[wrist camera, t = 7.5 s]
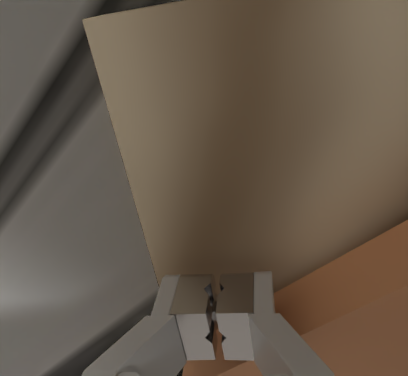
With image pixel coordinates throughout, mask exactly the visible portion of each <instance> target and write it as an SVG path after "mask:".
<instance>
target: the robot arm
mask: <svg viewBox="0 0 408 376" xmlns="http://www.w3.org/2000/svg"><path fill="white" fill-rule="evenodd" d="M219 284H220V290H221V292H220V293H219V294H218V295H217V294H216V293H215V287H216V282H215V278H214V275H213V274H181V275H165V276H164V277H163V278H162V281H161V284H160V287H159V290H158V294H157V297H156V300H155V303H154V306H153V310H152V313H151V316H145V317H144V318H143V319H142V320H141V321H139V322H138V323H137V324H136V325H135V326H134V327H133V328H131V329H130V330H129V331H128V332H127V333H126V334H125V335H123V336H122V337H121V338H120V339H119V340H118V341H117V342H116V343H114V344H113V345H112V346H111V347H110V348H109V349H108V350H106V351H105V352H104V353H103V354H102V355H101V356H100V357H98V358H97V359H96V360H95V361H94V362H93V363H92V364H91V365H89V366H88V367H87V368H86V369H85V370H84V371H83V373H82V376H177V374H178V373H179V372H180V370H181V369H182V368H183V366H184V365H185V364H186V363H187V362H186V360H216V351H217V342H218V339H217V334H216V330H217V329H218V328H219V332H220V333H221V334H222V343H221V344H222V349H223V354H224V358H225V360H247V361H254V362H255V364H256V365H257V367H258V369H259V370H260V372H261V373H262V375H263V376H334V373H333V372H332V371H331V370H330V368H329V367H328V366H327V365H326V364H325V363H324V362H323V361H322V360H321V358H320V357H319V356H318V355H317V354H316V353H315V352H314V351H313V350H312V349H311V347H310V346H309V345H308V344H307V343H306V342H305V341H304V340H303V339H302V337H301V336H300V335H299V334H298V333H297V332H296V331H295V330H294V329H293V328H292V326H291V325H290V324H289V323H288V322H287V321H286V320H285V319H284V318H283V316H282V315H281V314H280V313H276V312H275V300H274V289H273V278H272V272H271V271H260V272H246V273H224V274H221V275H220V281H219Z"/></svg>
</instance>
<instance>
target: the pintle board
mask: <svg viewBox="0 0 408 376" xmlns="http://www.w3.org/2000/svg"><path fill="white" fill-rule="evenodd" d="M82 21H83V25H84V28H85V32H86V35H87V39H88V42H89V46H90V49H91V53H92V56H93V60H94V63H95V66H96V70H97V73H98V77H99V80H100V84H101V87H102V91H103V94H104V98H105V101H106V105H107V108H108V112H109V115H110V119H111V122H112V126H113V129H114V132H115V136H116V139H117V143H118V146H119V150H120V153H121V157H122V160H123V164H124V167H125V171H126V174H127V178H128V181H129V185H130V188H131V192H132V195H133V199H134V202H135V205H136V209H137V212H138V216H139V219H140V223H141V226H142V230H143V233H144V237H145V240H146V244H147V247H148V251H149V254H150V258H151V261H152V265H153V268H154V272H155V275H156V278H157V282H158V285H159V287H160V284H161V281H162V278H163V277H164V276H165V275H181V274H213V275H214V278H215V282H216V287H215V293H216V294H217V295H218V294H219V293H220V292H221V290H220V284H219V281H220V275H221V274H224V273H246V272H260V271H271V272H272V278H273V289H274V293H275V292H277V291H279V290H281V289H283V288H284V287H286V286H288V285H290V284H292V283H293V282H295V281H297V280H299V279H301V278H303V277H304V276H306V275H308V274H310V273H312V272H313V271H315V270H317V269H319V268H321V267H323V266H324V265H326V264H328V263H330V262H332V261H333V260H335V259H337V258H339V257H341V256H343V255H344V254H346V253H348V252H350V251H352V250H353V249H355V248H357V247H359V246H361V245H363V244H364V243H366V242H368V241H370V240H372V239H373V238H375V237H377V236H379V235H381V234H383V233H384V232H386V231H388V230H390V229H392V228H393V227H395V226H397V225H399V224H401V223H402V222H404V221H406V220H408V0H181V1H175V2H170V3H164V4H159V5H153V6H148V7H142V8H137V9H131V10H126V11H120V12H115V13H109V14H104V15H99V16H95V17H90V18H86V19H82ZM183 368H184V366H183ZM183 368H182V369H183Z"/></svg>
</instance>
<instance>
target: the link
mask: <svg viewBox="0 0 408 376" xmlns="http://www.w3.org/2000/svg"><path fill="white" fill-rule="evenodd" d="M274 300H275V312H276V313H280V314H281V315H282V316H283V318H284V319H285V320H286V321H287V322H288V323H289V324H290V325H291V326H292V328H293V329H294V330H295V331H296V332H297V333H298V334H299V335H300V336H301V337H302V339H303V340H304V341H305V342H306V343H307V344H308V345H309V346H310V347H311V349H312V350H313V351H314V352H315V353H316V354H317V355H318V356H319V357H320V358H321V360H322V361H323V362H324V363H325V364H326V365H327V366H328V367H329V368H330V370H331V371H332V372H333V373H334V376H408V220H406V221H404V222H402V223H401V224H399V225H397V226H395V227H393V228H392V229H390V230H388V231H386V232H384V233H383V234H381V235H379V236H377V237H375V238H373V239H372V240H370V241H368V242H366V243H364V244H363V245H361V246H359V247H357V248H355V249H353V250H352V251H350V252H348V253H346V254H344V255H343V256H341V257H339V258H337V259H335V260H333V261H332V262H330V263H328V264H326V265H324V266H323V267H321V268H319V269H317V270H315V271H313V272H312V273H310V274H308V275H306V276H304V277H303V278H301V279H299V280H297V281H295V282H293V283H292V284H290V285H288V286H286V287H284V288H283V289H281V290H279V291H277V292H275V293H274ZM216 334H217V339H218V342H217V351H216V360H186V362H187V363H186V364H185V365H184V368H183V374H182V376H263V375H262V373H261V372H260V370H259V369H258V367H257V365H256V364H255V362H254V361H247V360H225V358H224V354H223V349H222V344H221V343H222V334H221V333H220V332H219V328H218V329H217V330H216Z"/></svg>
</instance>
